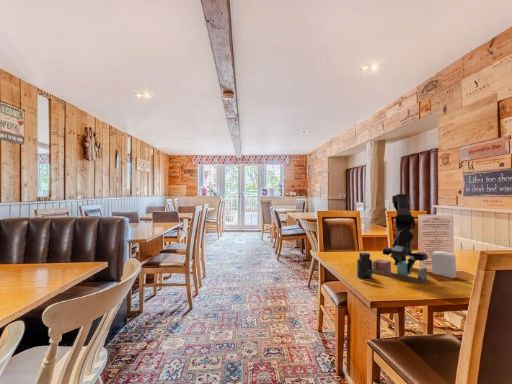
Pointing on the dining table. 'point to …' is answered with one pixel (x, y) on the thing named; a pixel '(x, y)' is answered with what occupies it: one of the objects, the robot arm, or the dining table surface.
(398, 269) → the teal block
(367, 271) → the supplement bottle
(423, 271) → the bookend
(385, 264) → the pink block
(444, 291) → the dining table surface
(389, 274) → the shelf board
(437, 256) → the photo printer
